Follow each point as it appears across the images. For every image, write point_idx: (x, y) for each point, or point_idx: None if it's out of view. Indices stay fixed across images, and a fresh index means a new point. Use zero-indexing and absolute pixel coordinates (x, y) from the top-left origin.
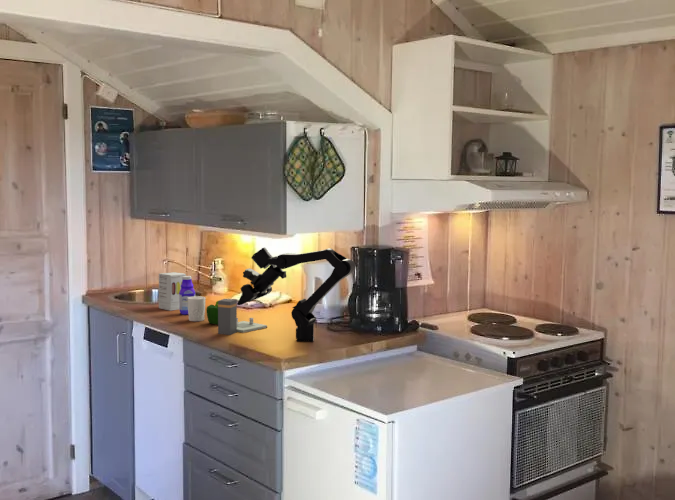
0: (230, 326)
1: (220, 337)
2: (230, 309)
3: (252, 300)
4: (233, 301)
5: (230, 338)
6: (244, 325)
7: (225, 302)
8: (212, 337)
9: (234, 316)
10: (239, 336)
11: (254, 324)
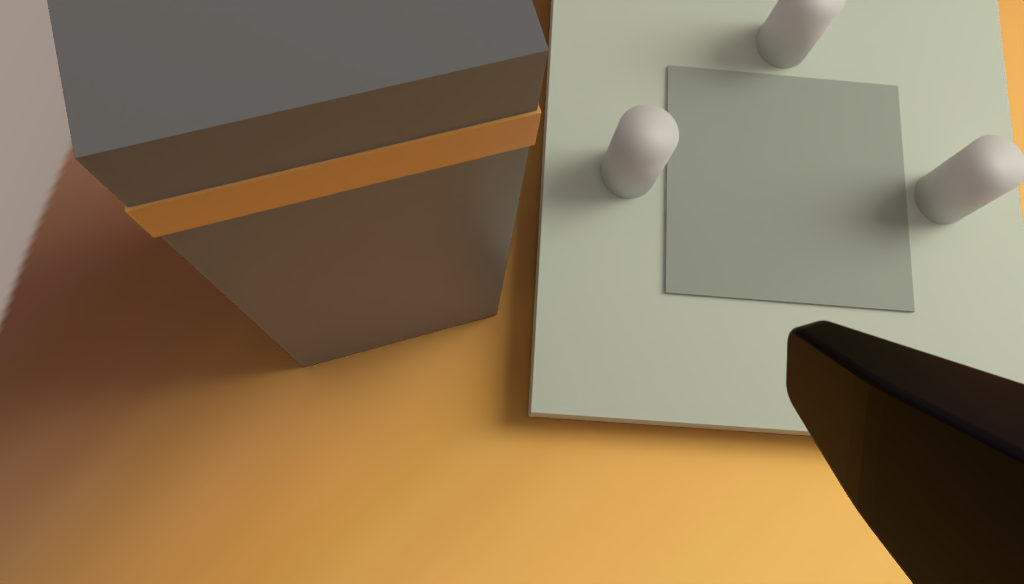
0: (278, 340)
1: (83, 370)
2: (177, 246)
3: (875, 529)
4: (321, 115)
5: (107, 536)
6: (784, 205)
7: (66, 12)
8: (20, 282)
9: (420, 256)
10: (301, 546)
11: (945, 259)
